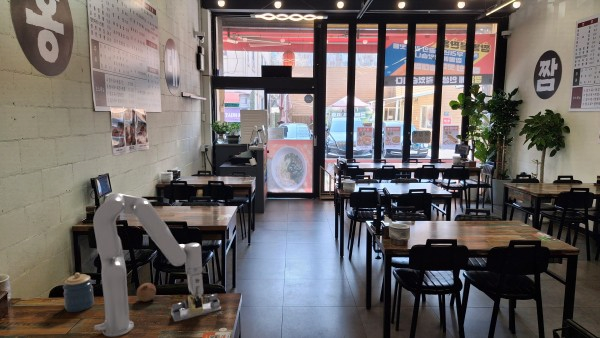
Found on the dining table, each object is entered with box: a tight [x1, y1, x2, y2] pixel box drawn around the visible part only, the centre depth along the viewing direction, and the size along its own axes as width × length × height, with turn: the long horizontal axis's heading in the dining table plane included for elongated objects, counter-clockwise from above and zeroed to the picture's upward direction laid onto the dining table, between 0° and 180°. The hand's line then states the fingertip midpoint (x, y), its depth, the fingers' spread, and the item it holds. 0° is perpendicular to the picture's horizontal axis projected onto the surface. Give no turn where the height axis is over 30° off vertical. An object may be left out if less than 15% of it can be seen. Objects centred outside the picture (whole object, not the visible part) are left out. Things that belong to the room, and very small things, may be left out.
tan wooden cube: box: [187, 294, 204, 314], centre depth 188 cm, size 6×6×7 cm
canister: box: [62, 272, 95, 313], centre depth 196 cm, size 13×13×18 cm
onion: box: [136, 282, 157, 303], centre depth 202 cm, size 10×9×10 cm
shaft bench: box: [170, 293, 222, 323], centre depth 189 cm, size 22×8×7 cm, turn 121°
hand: (195, 303), depth 188 cm, fingers open, 9 cm apart
